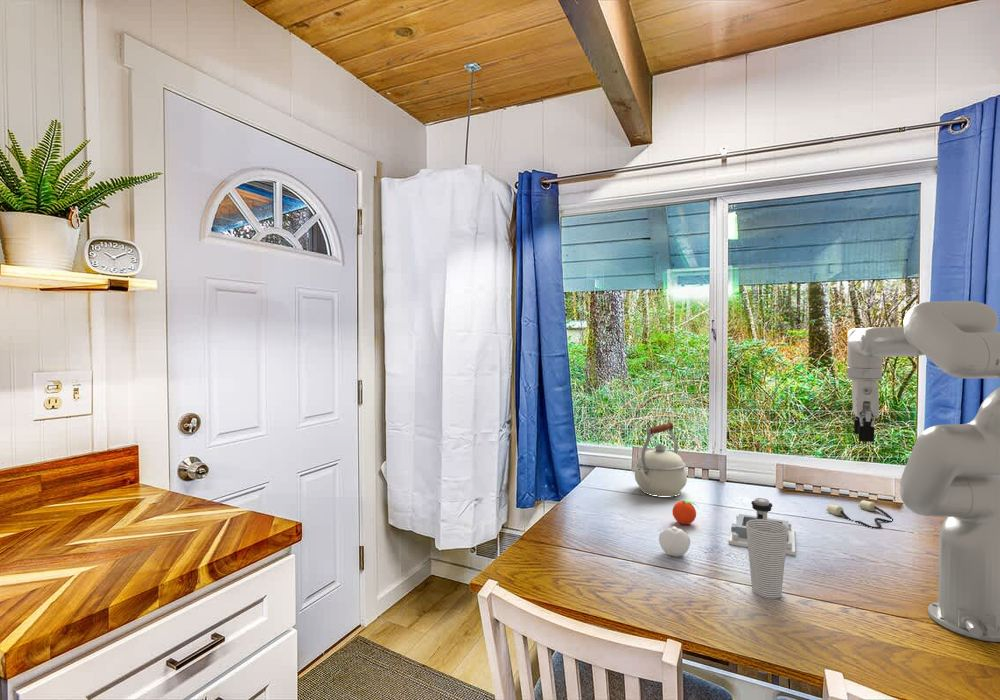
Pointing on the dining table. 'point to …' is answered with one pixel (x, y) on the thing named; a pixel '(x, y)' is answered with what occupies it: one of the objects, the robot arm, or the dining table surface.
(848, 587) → the dining table surface
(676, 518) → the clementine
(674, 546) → the white rounded piece
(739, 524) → the frame
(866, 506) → the cable
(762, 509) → the push button
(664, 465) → the kettle
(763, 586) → the cup
